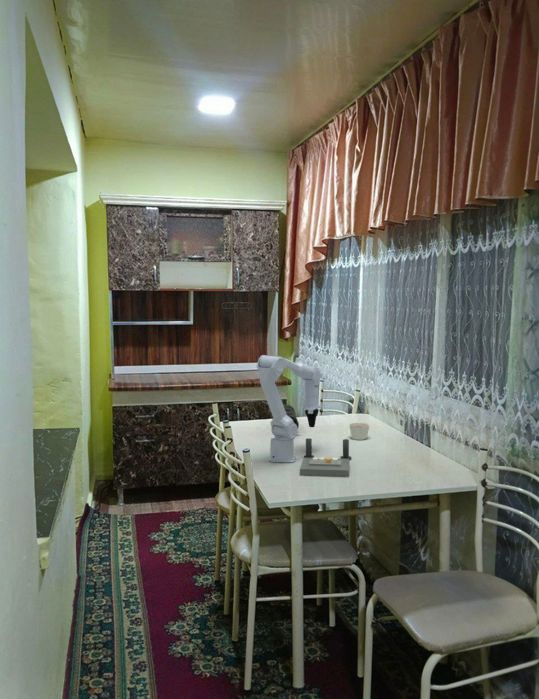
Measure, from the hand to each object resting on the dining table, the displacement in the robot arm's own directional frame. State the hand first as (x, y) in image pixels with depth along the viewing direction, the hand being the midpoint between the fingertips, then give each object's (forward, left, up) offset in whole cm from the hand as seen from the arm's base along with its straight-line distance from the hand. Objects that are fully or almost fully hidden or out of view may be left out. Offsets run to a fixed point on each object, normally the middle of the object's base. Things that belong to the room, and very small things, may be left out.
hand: (311, 426), depth 247 cm
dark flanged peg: (+15, -11, -10) cm, 21 cm away
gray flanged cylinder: (0, -11, -10) cm, 15 cm away
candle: (+20, +22, -11) cm, 32 cm away
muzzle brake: (-15, +36, -11) cm, 40 cm away
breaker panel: (+7, -26, -10) cm, 29 cm away
